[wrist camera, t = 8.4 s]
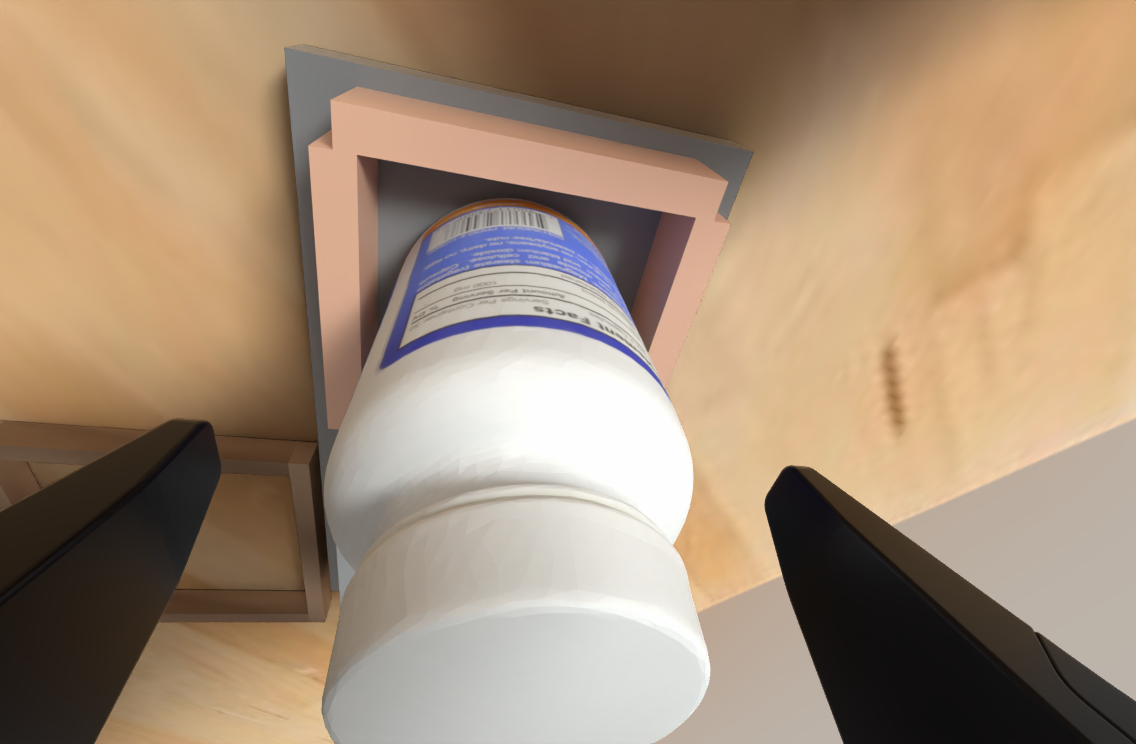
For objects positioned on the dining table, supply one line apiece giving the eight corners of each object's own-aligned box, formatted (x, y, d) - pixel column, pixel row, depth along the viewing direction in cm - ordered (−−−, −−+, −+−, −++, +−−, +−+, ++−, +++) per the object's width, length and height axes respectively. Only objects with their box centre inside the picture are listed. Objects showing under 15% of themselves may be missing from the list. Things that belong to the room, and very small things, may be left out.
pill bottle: (532, 408, 15) (574, 823, 7) (361, 322, 13) (158, 793, 5) (651, 271, 13) (889, 652, 5) (472, 138, 11) (416, 465, 3)
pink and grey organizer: (577, 568, 22) (588, 641, 20) (339, 563, 20) (315, 643, 18) (733, 141, 13) (795, 173, 10) (304, 44, 11) (241, 54, 8)
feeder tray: (331, 599, 22) (324, 622, 21) (80, 597, 20) (62, 622, 19) (317, 442, 17) (308, 464, 16) (-21, 418, 15) (-51, 442, 14)
